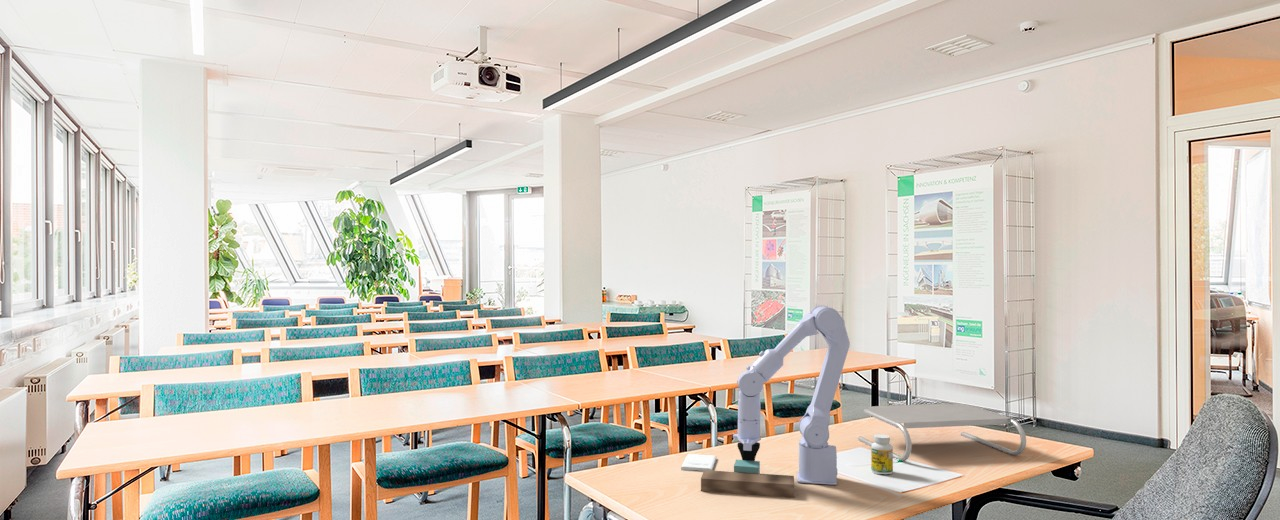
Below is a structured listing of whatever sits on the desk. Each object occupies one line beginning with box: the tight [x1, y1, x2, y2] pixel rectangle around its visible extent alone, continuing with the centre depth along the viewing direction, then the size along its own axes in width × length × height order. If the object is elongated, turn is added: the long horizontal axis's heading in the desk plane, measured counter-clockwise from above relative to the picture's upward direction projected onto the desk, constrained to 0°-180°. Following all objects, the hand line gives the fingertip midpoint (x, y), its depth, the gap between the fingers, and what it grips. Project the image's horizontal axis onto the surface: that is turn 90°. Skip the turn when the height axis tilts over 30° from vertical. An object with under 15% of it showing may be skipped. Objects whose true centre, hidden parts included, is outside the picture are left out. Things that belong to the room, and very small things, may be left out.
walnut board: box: [700, 470, 795, 498], centre depth 171 cm, size 22×7×3 cm, turn 79°
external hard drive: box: [680, 453, 717, 472], centre depth 192 cm, size 2×8×12 cm
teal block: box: [733, 459, 761, 474], centre depth 178 cm, size 6×5×4 cm
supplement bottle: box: [870, 433, 894, 475], centre depth 186 cm, size 5×5×10 cm
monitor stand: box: [857, 403, 1027, 462], centre depth 209 cm, size 37×28×11 cm
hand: (748, 471), depth 181 cm, fingers closed
